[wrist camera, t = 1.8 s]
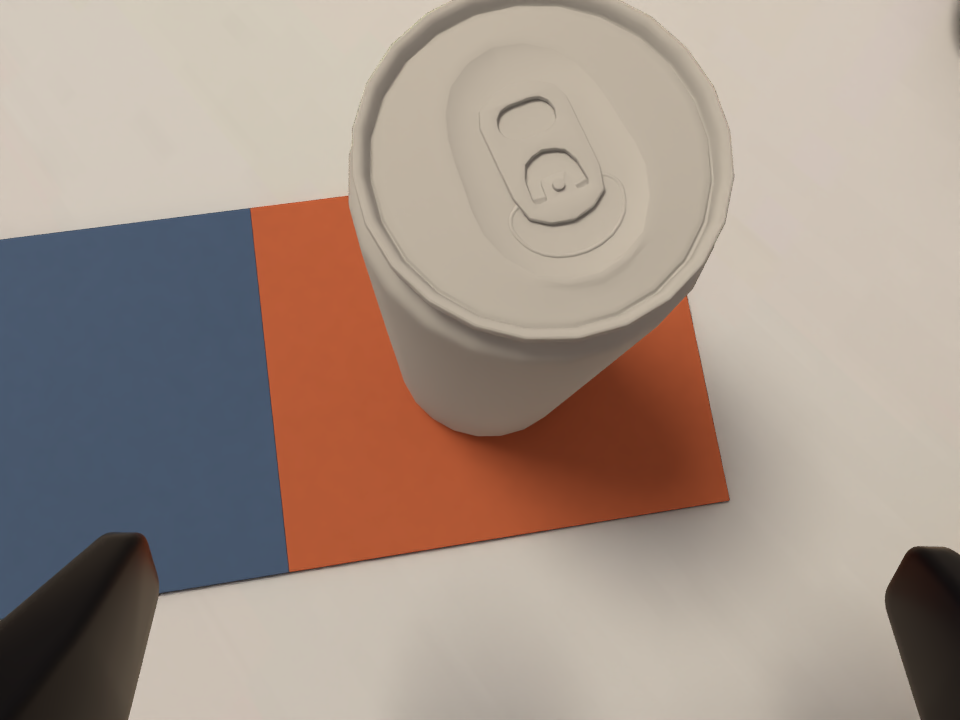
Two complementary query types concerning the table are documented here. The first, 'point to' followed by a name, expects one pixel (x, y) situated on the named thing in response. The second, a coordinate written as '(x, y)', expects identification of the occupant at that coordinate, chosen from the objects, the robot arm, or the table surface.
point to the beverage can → (532, 198)
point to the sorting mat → (288, 411)
